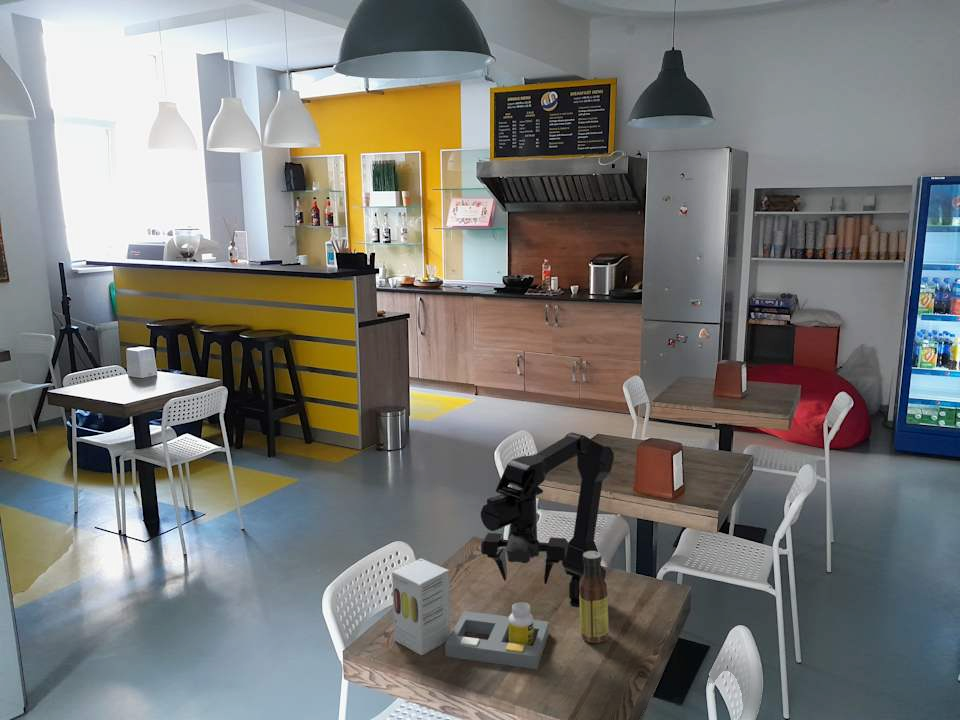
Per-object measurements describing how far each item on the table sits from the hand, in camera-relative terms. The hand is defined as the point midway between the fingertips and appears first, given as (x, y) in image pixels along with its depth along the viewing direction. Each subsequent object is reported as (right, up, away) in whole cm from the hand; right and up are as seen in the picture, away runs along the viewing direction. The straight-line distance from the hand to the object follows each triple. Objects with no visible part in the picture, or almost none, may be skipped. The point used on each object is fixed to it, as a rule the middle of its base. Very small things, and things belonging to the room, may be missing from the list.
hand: (525, 581), depth 165 cm
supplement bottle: (-1, -14, -4) cm, 14 cm away
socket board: (-6, -13, -2) cm, 15 cm away
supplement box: (-23, -13, 0) cm, 27 cm away
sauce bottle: (+15, -13, 0) cm, 20 cm away
